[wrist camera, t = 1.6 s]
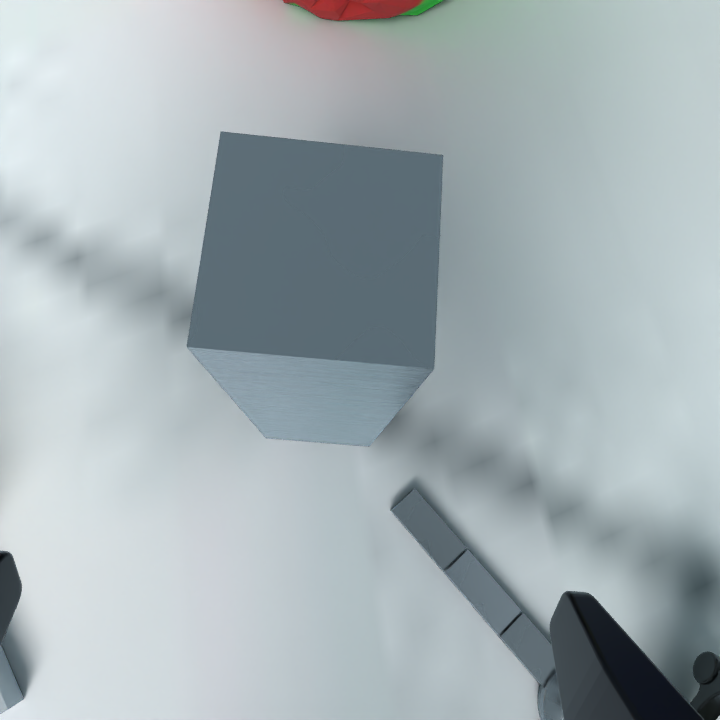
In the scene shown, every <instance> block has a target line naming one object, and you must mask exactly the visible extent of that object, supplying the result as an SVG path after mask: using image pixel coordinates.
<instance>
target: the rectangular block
mask: <svg viewBox="0 0 720 720" xmlns="http://www.w3.org/2000/svg"><path fill="white" fill-rule="evenodd" d="M442 167H443V155H438V154H429V153H419V152H410V151H400V150H391V149H381V148H372V147H362V146H353V145H343V144H334V143H324V142H315V141H306V140H296V139H287V138H277V137H268V136H258V135H249V134H239V133H230V132H221V134H220V140H219V146H218V153H217V159H216V165H215V172H214V178H213V184H212V191H211V197H210V203H209V210H208V216H207V222H206V229H205V235H204V241H203V247H202V254H201V260H200V266H199V273H198V279H197V285H196V292H195V298H194V304H193V311H192V317H191V323H190V329H189V336H188V342H187V348H188V349H189V350H190V351H191V353H192V354H193V355H194V356H195V357H196V358H197V360H198V361H199V362H200V363H201V364H202V365H203V366H204V368H205V369H206V370H207V371H208V372H209V373H210V374H211V376H212V377H213V378H214V379H215V380H216V381H217V382H218V384H219V385H220V386H221V387H222V388H223V389H224V391H225V392H226V393H227V394H228V395H229V396H230V397H231V399H232V400H233V401H234V402H235V403H236V404H237V405H238V407H239V408H240V409H241V410H242V411H243V412H244V413H245V415H246V416H247V417H248V418H249V419H250V420H251V422H252V423H253V424H254V425H255V426H256V427H257V428H258V430H259V431H260V432H261V433H262V434H263V435H264V436H265V438H271V439H283V440H295V441H308V442H320V443H332V444H345V445H357V446H370V445H371V444H372V443H373V441H374V440H375V439H376V438H377V437H378V435H379V434H380V433H381V432H382V431H383V429H384V428H385V427H386V426H387V425H388V423H389V422H390V421H391V420H392V419H393V417H394V416H395V415H396V414H397V413H398V411H399V410H400V409H401V408H402V407H403V405H404V404H405V403H406V402H407V401H408V400H409V398H410V397H411V396H412V395H413V394H414V392H415V391H416V390H417V389H418V388H419V386H420V385H421V384H422V383H423V382H424V380H425V379H426V378H427V377H428V376H429V374H430V373H431V372H432V371H433V370H434V359H435V335H436V311H437V287H438V263H439V239H440V215H441V191H442Z"/></svg>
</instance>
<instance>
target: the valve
mask: <svg viewBox="0 0 720 720" xmlns="http://www.w3.org/2000/svg"><path fill="white" fill-rule="evenodd" d="M693 674H694V677H695V679H696V680H697V682H699V683H700V688H699V692H698V694H697V695H696V697H695V698H694V699H693V700H692V702H691V703H690V705H691V706H692V707H693V708H694V709H695V710H696V711H697V712H698V713H699V715H700V716H701V717H702V718H703V719H704V720H716V719H717V718H718V716H719V715H720V657H719V656H717V655H715V654H714V653H712V652H703V653H701V654H700V655H699V656H698V657H697V658H696V660H695V662H694V665H693Z"/></svg>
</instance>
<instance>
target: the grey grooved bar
mask: <svg viewBox="0 0 720 720" xmlns="http://www.w3.org/2000/svg"><path fill="white" fill-rule="evenodd" d="M390 511H391V512H392V513H393V514H394V515H395V516H396V518H397V519H398V520H399V521H400V522H401V523H402V525H403V526H404V527H405V528H406V529H407V530H408V532H409V533H410V534H411V535H412V536H413V537H414V539H415V540H416V541H417V542H418V543H419V544H420V545H421V547H422V548H423V549H424V550H425V551H426V552H427V554H428V555H429V556H430V557H431V558H432V559H433V561H434V562H435V563H436V564H437V565H438V566H439V568H440V569H441V570H443V572H444V573H445V575H446V576H447V577H448V578H449V579H450V580H451V582H452V583H453V584H454V585H455V586H456V587H457V589H458V590H459V591H460V592H461V593H462V594H463V596H464V597H465V598H466V599H467V600H468V601H469V603H470V604H471V605H472V606H473V607H474V608H475V610H476V611H477V612H478V613H479V614H480V615H481V617H482V618H483V619H484V620H485V621H486V622H487V623H488V625H489V626H490V627H491V628H492V629H493V630H494V632H495V633H497V635H498V636H499V637H500V639H501V640H502V641H503V642H504V643H505V644H506V646H507V647H508V648H509V649H510V650H511V651H512V653H513V654H514V655H515V656H516V657H517V658H518V660H519V661H520V662H521V663H522V664H523V665H524V667H525V668H526V669H527V670H528V671H529V672H530V674H531V675H532V676H533V677H534V678H535V679H536V681H537V682H538V683H539V684H540V688H539V692H538V710H539V715H540V718H541V720H564V718H563V712H562V706H561V700H560V693H559V687H558V681H557V675H556V669H555V663H554V657H553V650H552V645H551V644H550V642H549V641H548V640H547V639H546V638H545V637H544V636H543V634H542V633H541V632H540V631H539V630H538V629H537V628H536V626H535V625H534V624H533V623H532V622H531V621H530V620H529V618H528V617H527V616H526V615H525V614H524V613H523V612H521V611H522V610H521V609H520V608H519V607H518V606H517V605H516V604H515V602H514V601H513V600H512V599H511V598H510V597H509V596H508V594H507V593H506V592H505V591H504V590H503V589H502V587H501V586H500V585H499V584H498V583H497V582H496V581H495V579H494V578H493V577H492V576H491V575H490V574H489V573H488V571H487V570H486V569H485V568H484V567H483V566H482V565H481V563H480V562H479V561H478V560H477V559H476V558H475V557H474V555H473V554H472V553H471V552H470V551H469V550H468V549H465V548H466V546H465V545H464V544H463V543H462V542H461V541H460V539H459V538H458V537H457V536H456V535H455V534H454V533H453V531H452V530H451V529H450V528H449V527H448V526H447V525H446V523H445V522H444V521H443V520H442V519H441V518H440V517H439V515H438V514H437V513H436V512H435V511H434V510H433V509H432V507H431V506H430V505H429V504H428V503H427V502H426V500H425V499H424V498H423V497H422V496H421V495H420V494H419V492H418V491H417V490H416V489H413V490H412V491H411V492H410V493H409V494H408V495H407V496H406V497H404V498H403V499H402V500H401V501H400V502H399V503H398V504H397V505H396V506H395V507H394V508H393V509H392V510H390ZM464 549H465V550H464ZM463 550H464V551H463ZM462 551H463V552H462ZM461 552H462V553H461ZM460 553H461V554H460ZM459 554H460V555H459ZM458 555H459V556H458ZM457 556H458V557H457ZM456 557H457V558H456ZM455 558H456V559H455ZM454 559H455V560H454ZM453 560H454V561H453ZM452 561H453V562H452ZM451 562H452V563H451ZM450 563H451V564H450ZM449 564H450V565H449ZM448 565H449V566H448ZM447 566H448V567H447Z"/></svg>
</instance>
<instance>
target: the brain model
mask: <svg viewBox="0 0 720 720" xmlns="http://www.w3.org/2000/svg"><path fill="white" fill-rule="evenodd" d="M283 1H284V3H288V4H292V5H296V6H300V7H302V8H304V9H306V10H308V11H309V12H311V13H313V14H315V15H316V16H318V17H320V18H323V19H330V20H337V21H339V20H358V19H378V18H391V17H394V16H398V15H419V14H420V13H422V12H424V11H426V10H427V9H429V8H431V7H433V6H434V5H436V4H438V3H440V2H441V1H443V0H283Z"/></svg>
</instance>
